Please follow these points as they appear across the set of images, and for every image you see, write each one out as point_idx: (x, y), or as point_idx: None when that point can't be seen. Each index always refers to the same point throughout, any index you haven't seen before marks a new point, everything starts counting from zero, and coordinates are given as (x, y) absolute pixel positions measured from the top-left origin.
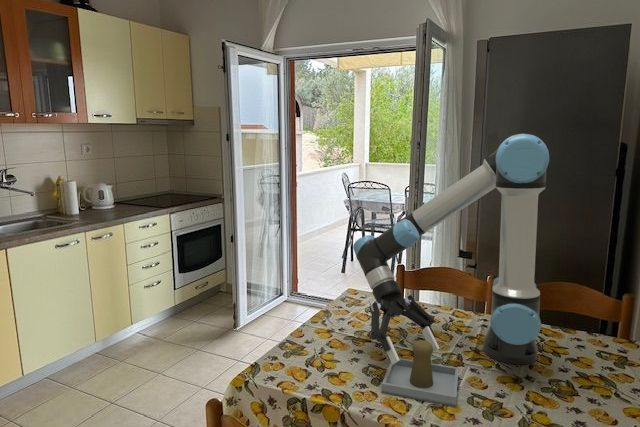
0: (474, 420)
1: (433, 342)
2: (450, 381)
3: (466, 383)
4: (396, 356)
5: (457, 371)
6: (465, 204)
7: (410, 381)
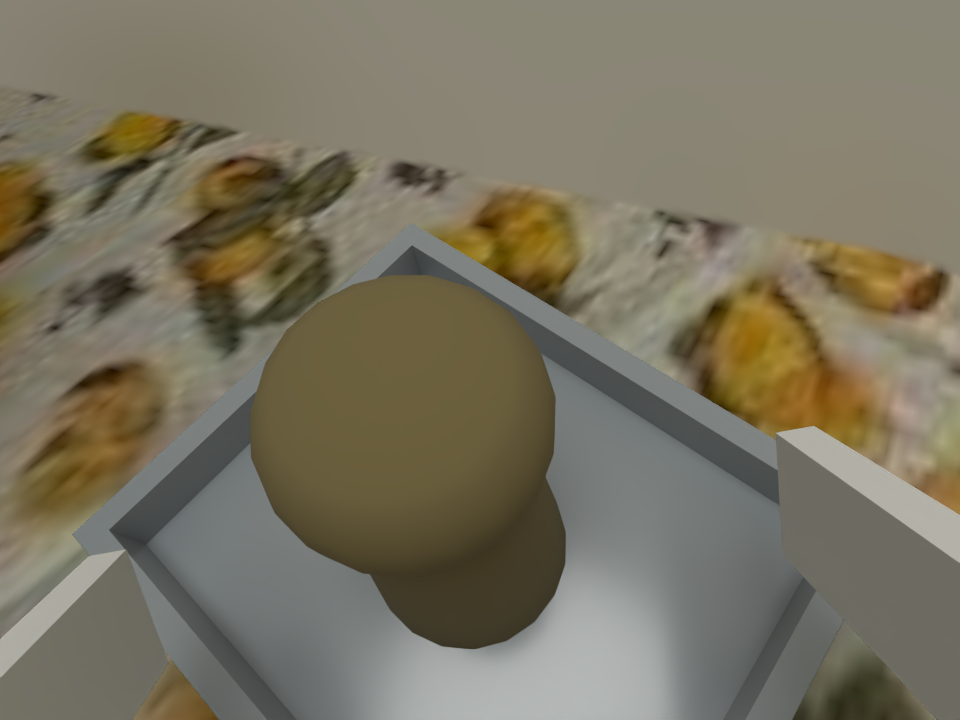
0: (412, 169)
1: (64, 635)
2: (254, 474)
3: (161, 448)
4: (834, 448)
5: (138, 482)
6: None
7: (563, 560)
